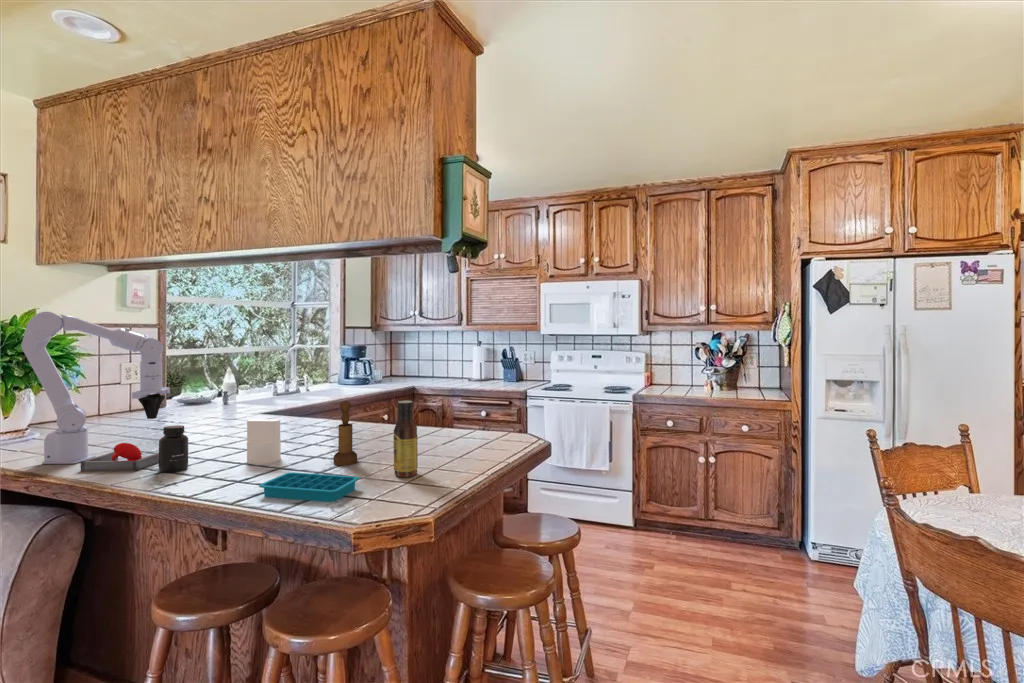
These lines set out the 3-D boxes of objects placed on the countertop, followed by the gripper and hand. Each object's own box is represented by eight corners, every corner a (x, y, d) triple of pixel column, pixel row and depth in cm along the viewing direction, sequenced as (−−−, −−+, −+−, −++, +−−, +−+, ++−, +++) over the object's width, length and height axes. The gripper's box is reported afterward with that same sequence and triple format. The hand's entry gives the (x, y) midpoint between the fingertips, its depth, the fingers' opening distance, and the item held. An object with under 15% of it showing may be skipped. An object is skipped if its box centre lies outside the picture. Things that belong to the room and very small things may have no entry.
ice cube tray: (335, 505, 111) (335, 491, 111) (256, 498, 116) (256, 485, 115) (361, 489, 123) (361, 476, 123) (288, 483, 127) (288, 472, 127)
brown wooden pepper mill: (347, 466, 142) (346, 403, 142) (328, 464, 144) (328, 402, 144) (361, 460, 148) (361, 400, 148) (343, 458, 150) (343, 399, 150)
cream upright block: (286, 456, 153) (286, 417, 153) (271, 464, 144) (270, 423, 144) (257, 456, 153) (257, 417, 153) (240, 464, 144) (240, 422, 144)
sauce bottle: (397, 471, 137) (397, 399, 137) (420, 471, 137) (420, 399, 136) (390, 478, 130) (390, 402, 130) (414, 478, 130) (413, 402, 130)
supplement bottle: (177, 473, 135) (177, 429, 134) (152, 473, 135) (152, 428, 134) (194, 466, 141) (193, 424, 141) (170, 466, 142) (170, 424, 141)
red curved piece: (101, 455, 141) (113, 445, 139) (120, 443, 147) (131, 434, 145) (122, 475, 143) (134, 466, 141) (139, 463, 148) (151, 455, 147)
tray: (80, 471, 136) (80, 461, 136) (114, 459, 148) (114, 451, 148) (136, 470, 137) (136, 461, 137) (165, 459, 149) (165, 451, 149)
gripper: (148, 378, 152) (148, 422, 152) (178, 374, 166) (179, 414, 167) (124, 378, 152) (125, 422, 152) (157, 374, 166) (157, 414, 167)
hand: (151, 418), depth 159 cm, fingers closed
